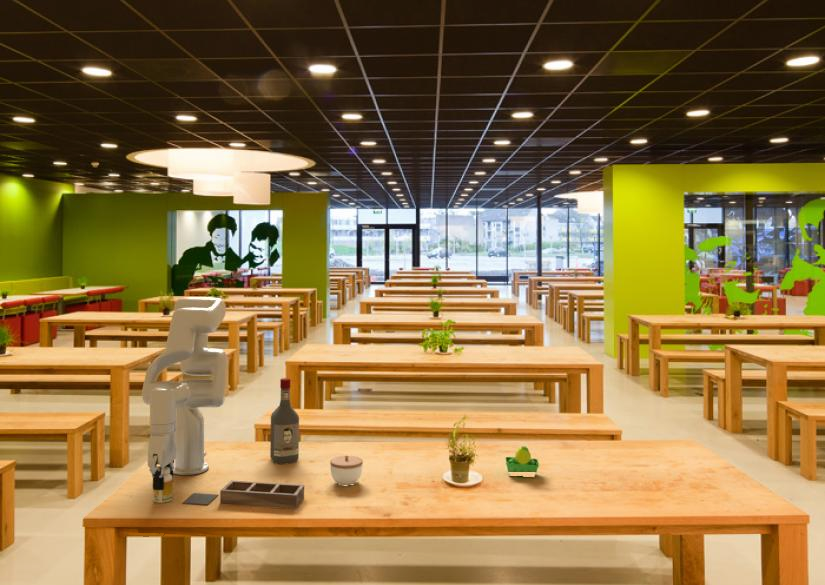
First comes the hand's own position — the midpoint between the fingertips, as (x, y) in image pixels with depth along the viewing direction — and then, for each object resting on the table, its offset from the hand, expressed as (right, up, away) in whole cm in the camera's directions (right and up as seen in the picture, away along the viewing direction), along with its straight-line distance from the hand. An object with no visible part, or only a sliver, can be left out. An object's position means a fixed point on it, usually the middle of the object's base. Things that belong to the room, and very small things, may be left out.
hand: (163, 485), depth 206 cm
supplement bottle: (0, -5, 0) cm, 5 cm away
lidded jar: (+54, -5, +19) cm, 57 cm away
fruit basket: (+114, -6, +31) cm, 119 cm away
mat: (+11, -5, +1) cm, 12 cm away
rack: (+30, -5, +1) cm, 31 cm away
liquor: (+29, -3, +42) cm, 51 cm away
